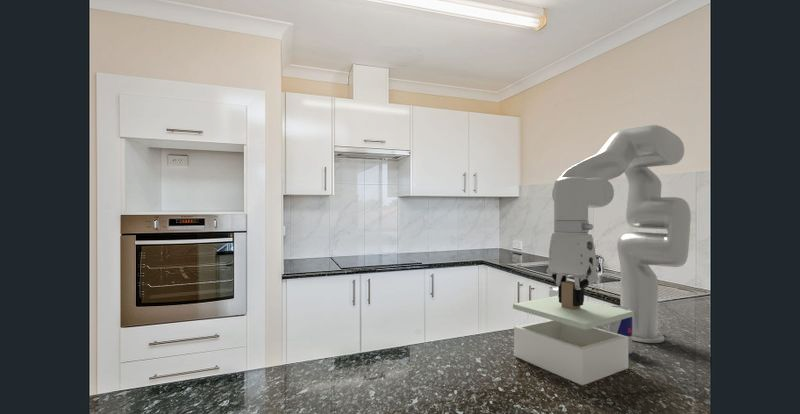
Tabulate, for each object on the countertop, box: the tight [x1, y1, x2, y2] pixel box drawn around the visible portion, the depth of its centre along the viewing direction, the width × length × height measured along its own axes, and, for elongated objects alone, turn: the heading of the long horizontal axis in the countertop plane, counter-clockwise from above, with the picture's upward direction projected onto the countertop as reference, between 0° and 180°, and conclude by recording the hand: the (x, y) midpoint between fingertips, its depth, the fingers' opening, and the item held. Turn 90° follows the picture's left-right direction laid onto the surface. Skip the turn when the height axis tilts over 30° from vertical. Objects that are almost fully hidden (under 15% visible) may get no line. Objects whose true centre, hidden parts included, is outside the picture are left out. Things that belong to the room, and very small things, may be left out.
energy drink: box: [608, 305, 633, 356], centre depth 96 cm, size 5×5×12 cm
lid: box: [512, 280, 633, 330], centre depth 88 cm, size 19×19×7 cm
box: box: [513, 319, 629, 386], centre depth 87 cm, size 18×18×8 cm
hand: (570, 303), depth 88 cm, fingers closed on lid, 3 cm apart
